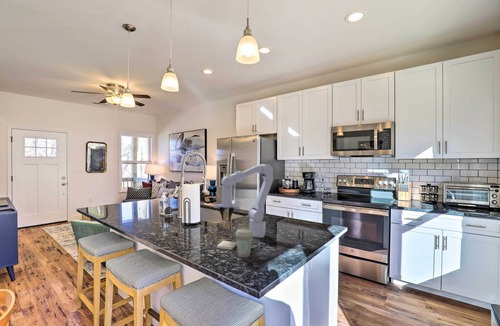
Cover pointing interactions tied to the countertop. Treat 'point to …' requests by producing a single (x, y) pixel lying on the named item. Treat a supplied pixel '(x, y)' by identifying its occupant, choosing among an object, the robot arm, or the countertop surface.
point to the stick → (226, 219)
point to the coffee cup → (244, 241)
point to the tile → (227, 245)
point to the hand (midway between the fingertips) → (226, 220)
